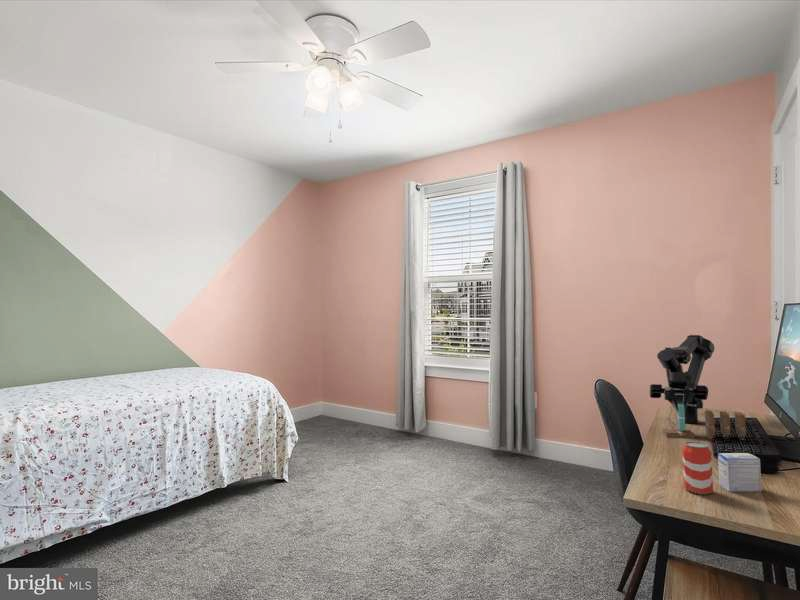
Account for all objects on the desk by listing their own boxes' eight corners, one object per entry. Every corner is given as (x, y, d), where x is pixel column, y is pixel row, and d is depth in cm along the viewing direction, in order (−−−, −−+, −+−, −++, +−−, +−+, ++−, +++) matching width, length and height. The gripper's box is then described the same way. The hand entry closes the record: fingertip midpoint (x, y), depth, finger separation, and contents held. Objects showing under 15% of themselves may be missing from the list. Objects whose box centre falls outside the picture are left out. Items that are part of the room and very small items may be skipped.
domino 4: (739, 441, 160) (738, 415, 160) (736, 437, 165) (734, 412, 165) (746, 441, 159) (744, 415, 160) (742, 437, 164) (740, 412, 164)
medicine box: (750, 485, 121) (748, 452, 121) (762, 492, 117) (760, 458, 117) (718, 485, 122) (717, 452, 122) (729, 492, 117) (727, 458, 118)
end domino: (679, 430, 167) (678, 405, 168) (677, 427, 172) (676, 402, 172) (685, 430, 167) (684, 405, 167) (683, 427, 171) (682, 403, 172)
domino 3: (724, 440, 162) (723, 414, 162) (720, 436, 166) (719, 411, 167) (730, 440, 161) (729, 414, 161) (727, 436, 166) (725, 411, 166)
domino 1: (694, 438, 165) (666, 437, 168) (689, 434, 170) (662, 434, 172) (694, 433, 165) (666, 432, 168) (689, 429, 170) (662, 429, 172)
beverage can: (688, 494, 117) (686, 447, 117) (681, 485, 123) (679, 440, 123) (716, 496, 115) (714, 448, 115) (707, 487, 121) (705, 441, 121)
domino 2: (709, 438, 164) (707, 413, 164) (706, 435, 168) (705, 410, 169) (715, 439, 163) (714, 413, 163) (712, 435, 168) (711, 410, 168)
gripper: (648, 363, 177) (653, 397, 167) (706, 363, 170) (714, 399, 159) (647, 380, 184) (652, 414, 174) (702, 381, 177) (710, 417, 166)
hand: (681, 411), depth 168 cm, fingers closed on end domino, 2 cm apart
